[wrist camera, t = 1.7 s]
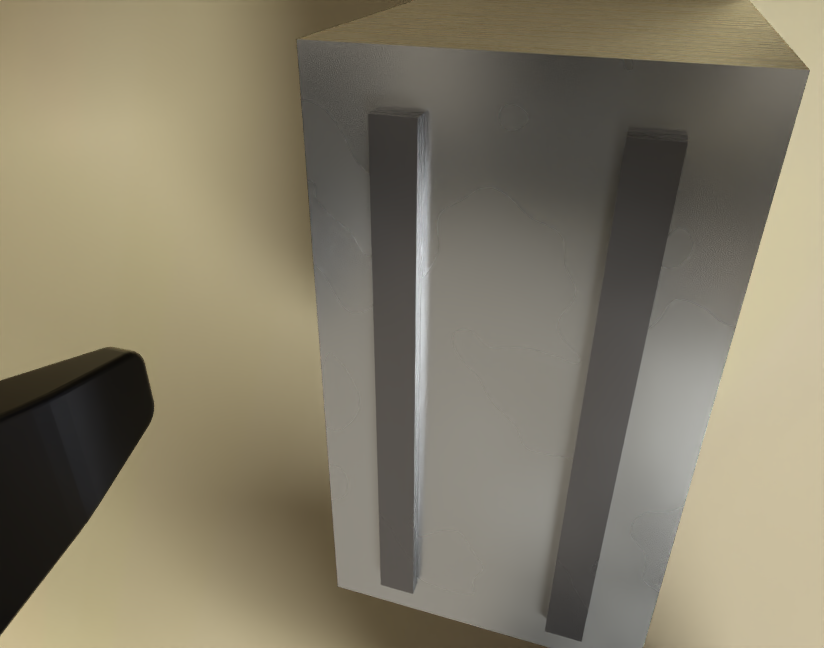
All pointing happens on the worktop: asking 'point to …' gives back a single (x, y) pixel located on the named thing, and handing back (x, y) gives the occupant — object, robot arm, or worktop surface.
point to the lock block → (532, 290)
